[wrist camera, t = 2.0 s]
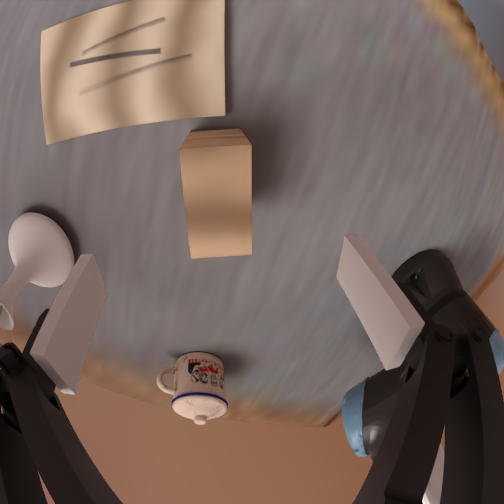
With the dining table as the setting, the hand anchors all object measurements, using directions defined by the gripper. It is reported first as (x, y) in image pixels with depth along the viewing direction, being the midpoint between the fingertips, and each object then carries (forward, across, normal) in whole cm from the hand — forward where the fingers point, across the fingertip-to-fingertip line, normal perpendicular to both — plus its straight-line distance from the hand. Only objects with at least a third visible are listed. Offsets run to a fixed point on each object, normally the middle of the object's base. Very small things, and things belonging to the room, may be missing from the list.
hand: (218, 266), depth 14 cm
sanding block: (+18, 0, 0) cm, 18 cm away
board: (+18, +9, -13) cm, 24 cm away
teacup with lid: (+18, +7, +33) cm, 38 cm away
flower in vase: (+18, +25, +8) cm, 32 cm away
